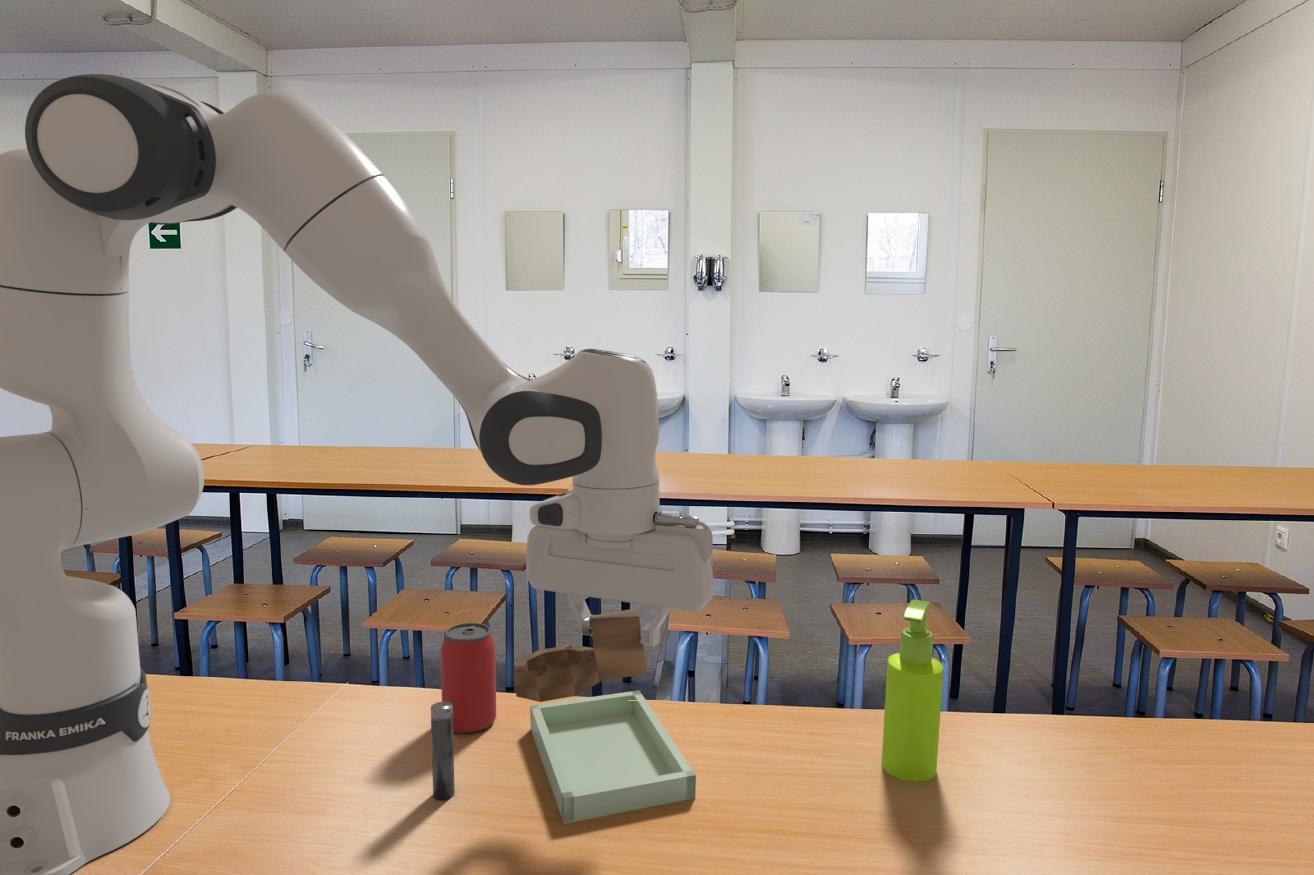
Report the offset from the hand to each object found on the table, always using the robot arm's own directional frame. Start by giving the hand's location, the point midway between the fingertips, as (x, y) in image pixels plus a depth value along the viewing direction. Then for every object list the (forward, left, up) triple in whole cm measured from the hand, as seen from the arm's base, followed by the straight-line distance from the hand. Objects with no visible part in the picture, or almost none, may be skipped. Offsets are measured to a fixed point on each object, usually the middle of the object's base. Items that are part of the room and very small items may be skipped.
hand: (618, 638), depth 81 cm
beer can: (-14, +20, -17) cm, 30 cm away
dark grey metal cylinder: (-18, +5, -17) cm, 25 cm away
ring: (-6, 0, -4) cm, 8 cm away
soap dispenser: (+32, -7, -17) cm, 37 cm away
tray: (0, +6, -17) cm, 18 cm away
